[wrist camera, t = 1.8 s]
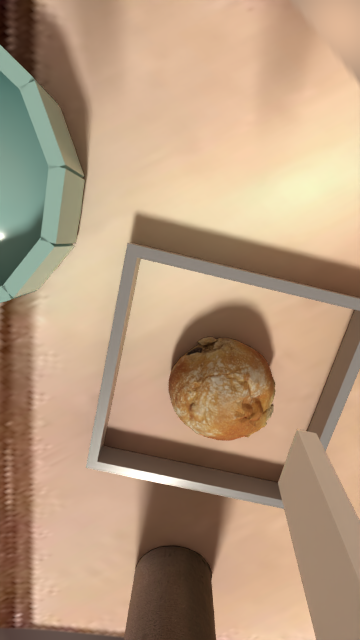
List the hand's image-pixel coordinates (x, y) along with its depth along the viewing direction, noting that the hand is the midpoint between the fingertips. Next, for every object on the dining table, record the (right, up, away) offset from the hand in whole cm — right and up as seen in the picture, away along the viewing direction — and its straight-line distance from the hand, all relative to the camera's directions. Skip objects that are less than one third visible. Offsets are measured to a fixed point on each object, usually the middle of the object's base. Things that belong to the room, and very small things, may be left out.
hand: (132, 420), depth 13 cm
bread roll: (+6, -2, +19) cm, 20 cm away
